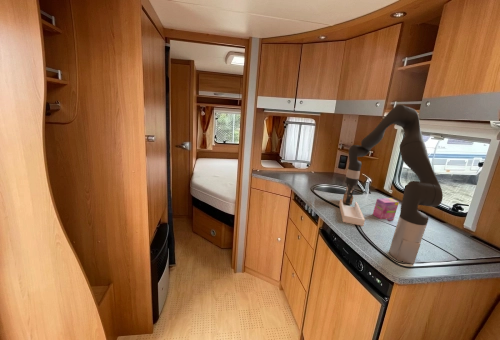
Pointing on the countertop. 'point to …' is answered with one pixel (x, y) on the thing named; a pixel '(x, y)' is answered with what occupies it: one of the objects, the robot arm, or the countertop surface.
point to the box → (385, 208)
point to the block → (346, 198)
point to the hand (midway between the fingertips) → (346, 201)
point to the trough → (351, 214)
